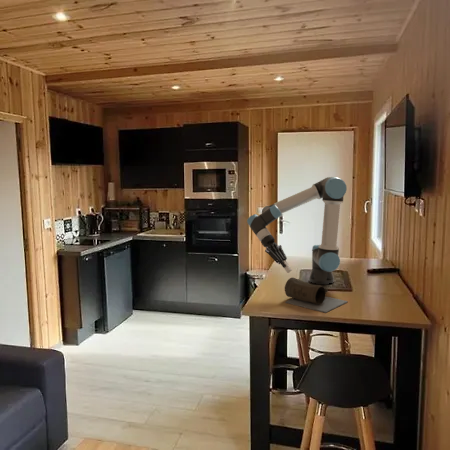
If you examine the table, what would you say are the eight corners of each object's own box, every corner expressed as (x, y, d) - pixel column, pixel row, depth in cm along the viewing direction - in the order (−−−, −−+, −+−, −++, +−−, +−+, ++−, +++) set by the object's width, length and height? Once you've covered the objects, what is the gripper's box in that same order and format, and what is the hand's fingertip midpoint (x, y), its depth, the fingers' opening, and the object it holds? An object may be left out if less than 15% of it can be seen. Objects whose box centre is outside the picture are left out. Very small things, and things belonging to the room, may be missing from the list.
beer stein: (284, 300, 226) (316, 309, 212) (282, 282, 222) (315, 290, 209) (300, 288, 236) (332, 296, 222) (298, 271, 233) (330, 278, 219)
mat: (285, 302, 220) (285, 301, 220) (308, 293, 236) (308, 292, 236) (325, 312, 204) (325, 311, 204) (347, 302, 220) (347, 301, 219)
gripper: (269, 240, 245) (292, 273, 236) (254, 243, 236) (278, 277, 227) (276, 232, 241) (300, 265, 232) (262, 235, 232) (286, 269, 222)
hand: (289, 271), depth 229 cm, fingers closed
